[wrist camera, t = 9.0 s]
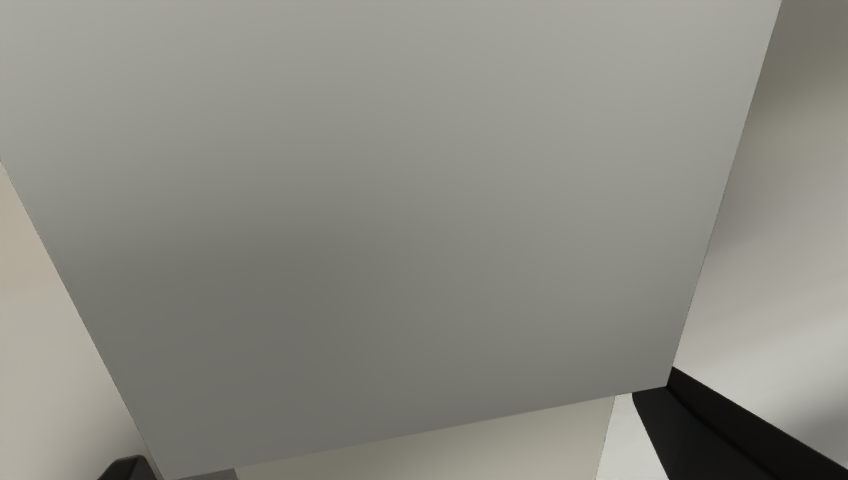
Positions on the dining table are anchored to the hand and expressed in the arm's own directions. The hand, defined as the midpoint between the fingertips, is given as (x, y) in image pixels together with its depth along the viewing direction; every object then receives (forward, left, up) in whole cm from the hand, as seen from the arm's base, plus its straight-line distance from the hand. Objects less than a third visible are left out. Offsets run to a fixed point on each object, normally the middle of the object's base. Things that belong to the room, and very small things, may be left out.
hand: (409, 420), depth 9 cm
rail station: (0, 0, -6) cm, 6 cm away
